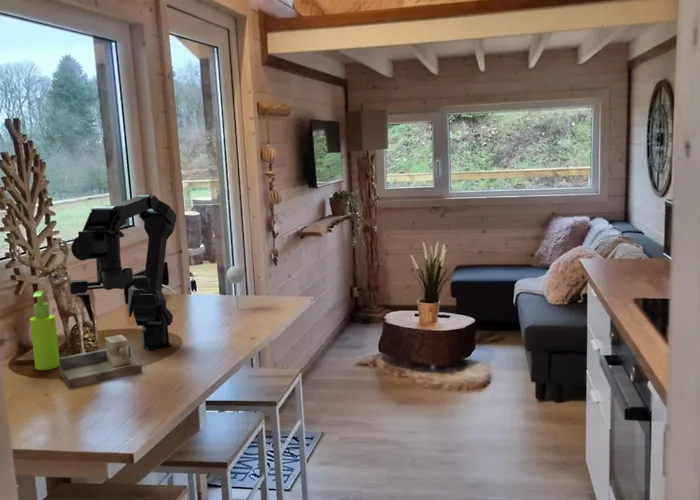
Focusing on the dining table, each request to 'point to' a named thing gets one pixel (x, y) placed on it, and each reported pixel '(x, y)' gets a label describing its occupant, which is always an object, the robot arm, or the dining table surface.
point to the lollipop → (235, 277)
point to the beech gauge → (117, 350)
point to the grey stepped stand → (94, 368)
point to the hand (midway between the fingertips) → (110, 318)
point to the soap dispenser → (44, 335)
